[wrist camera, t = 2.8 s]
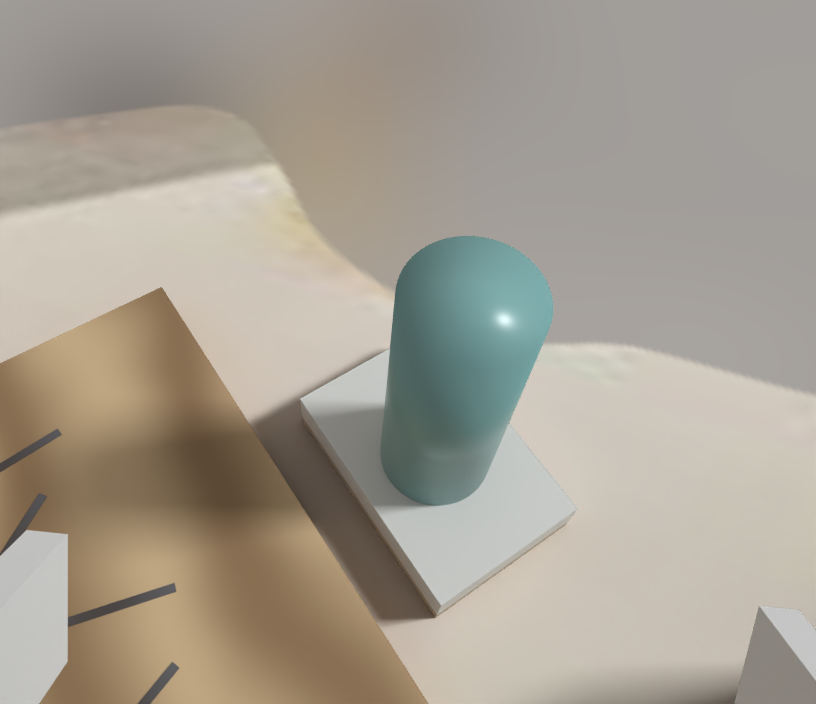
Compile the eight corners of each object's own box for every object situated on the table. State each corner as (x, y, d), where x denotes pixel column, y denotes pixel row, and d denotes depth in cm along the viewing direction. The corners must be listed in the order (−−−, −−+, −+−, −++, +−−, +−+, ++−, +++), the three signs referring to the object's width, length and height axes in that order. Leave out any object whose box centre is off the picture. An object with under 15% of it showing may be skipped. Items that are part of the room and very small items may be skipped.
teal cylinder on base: (426, 350, 33) (463, 141, 22) (564, 525, 29) (683, 375, 19) (302, 421, 31) (279, 227, 20) (435, 618, 27) (489, 506, 17)
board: (168, 307, 33) (161, 286, 32) (448, 746, 25) (453, 743, 24) (-250, 510, 28) (-280, 495, 26) (-54, 1141, 20) (-83, 1165, 19)
